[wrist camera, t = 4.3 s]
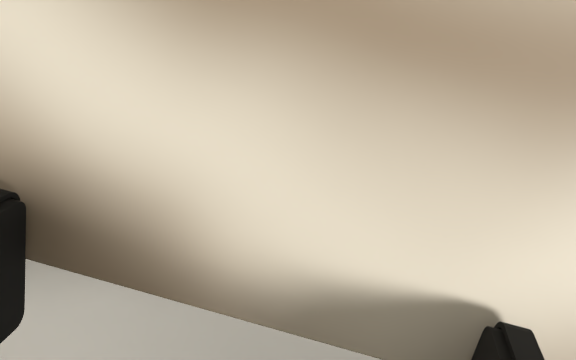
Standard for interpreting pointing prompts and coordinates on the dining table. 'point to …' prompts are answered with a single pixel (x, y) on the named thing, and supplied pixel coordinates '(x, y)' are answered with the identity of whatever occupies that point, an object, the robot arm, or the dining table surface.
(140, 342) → the dining table surface
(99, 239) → the ash plank
